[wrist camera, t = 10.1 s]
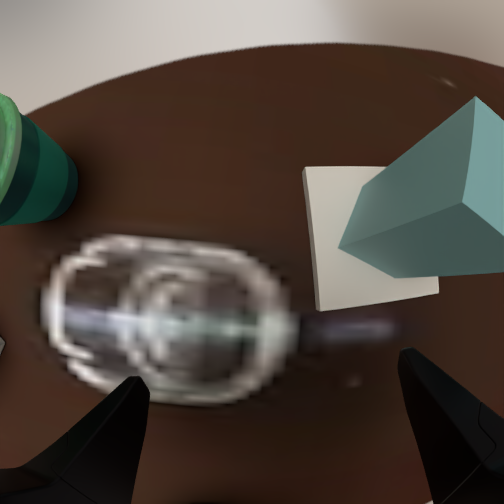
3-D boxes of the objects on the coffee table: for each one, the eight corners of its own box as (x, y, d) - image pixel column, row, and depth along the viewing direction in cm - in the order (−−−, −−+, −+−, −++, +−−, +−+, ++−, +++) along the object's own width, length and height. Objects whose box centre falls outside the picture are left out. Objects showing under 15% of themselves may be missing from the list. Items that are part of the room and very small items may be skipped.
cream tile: (430, 292, 22) (439, 292, 21) (316, 309, 21) (320, 311, 20) (414, 172, 23) (421, 168, 22) (301, 172, 22) (305, 167, 21)
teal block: (395, 278, 21) (538, 269, 8) (337, 247, 21) (462, 202, 8) (415, 218, 21) (546, 166, 8) (362, 186, 21) (475, 96, 8)
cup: (97, 145, 22) (19, 61, 10) (92, 244, 21) (-16, 211, 9) (24, 163, 21) (-62, 107, 10) (16, 252, 21) (-89, 232, 9)
